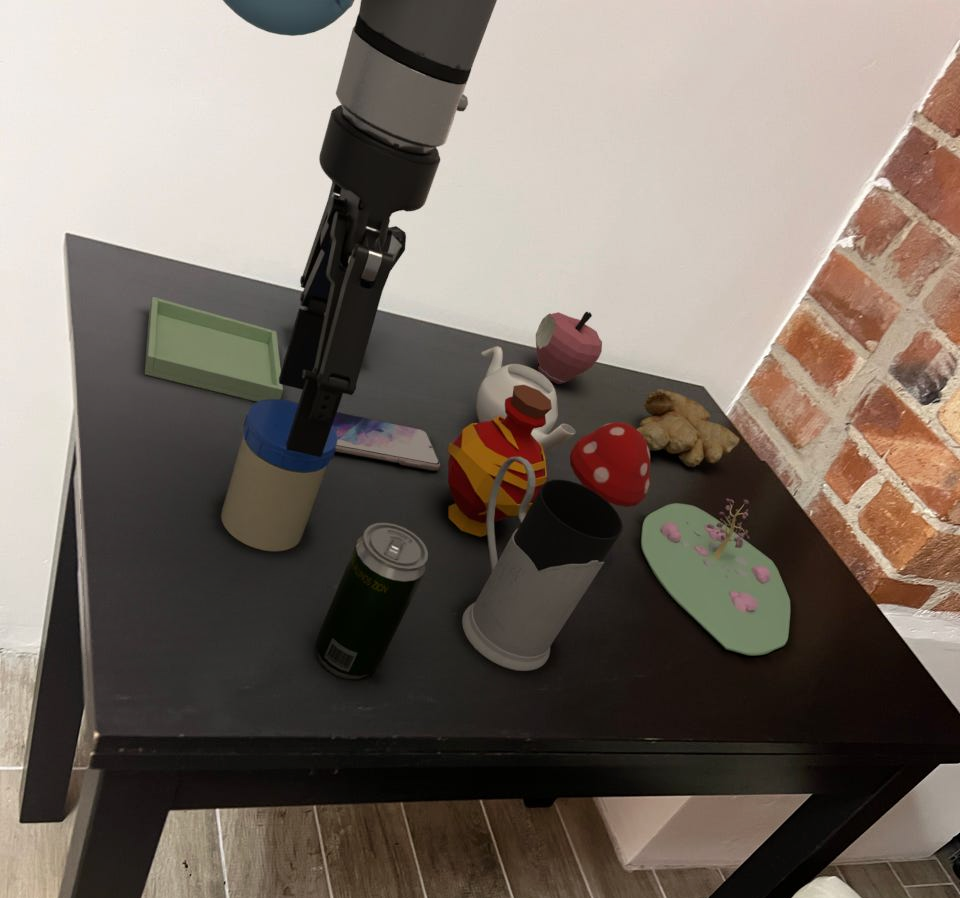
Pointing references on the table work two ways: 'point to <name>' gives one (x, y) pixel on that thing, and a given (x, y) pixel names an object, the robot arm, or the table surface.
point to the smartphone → (384, 441)
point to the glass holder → (539, 570)
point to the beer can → (371, 600)
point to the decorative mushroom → (613, 463)
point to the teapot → (501, 388)
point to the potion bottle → (497, 461)
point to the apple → (566, 346)
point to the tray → (212, 352)
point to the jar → (268, 502)
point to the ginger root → (684, 429)
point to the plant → (718, 577)
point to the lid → (281, 436)
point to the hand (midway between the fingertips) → (299, 416)
